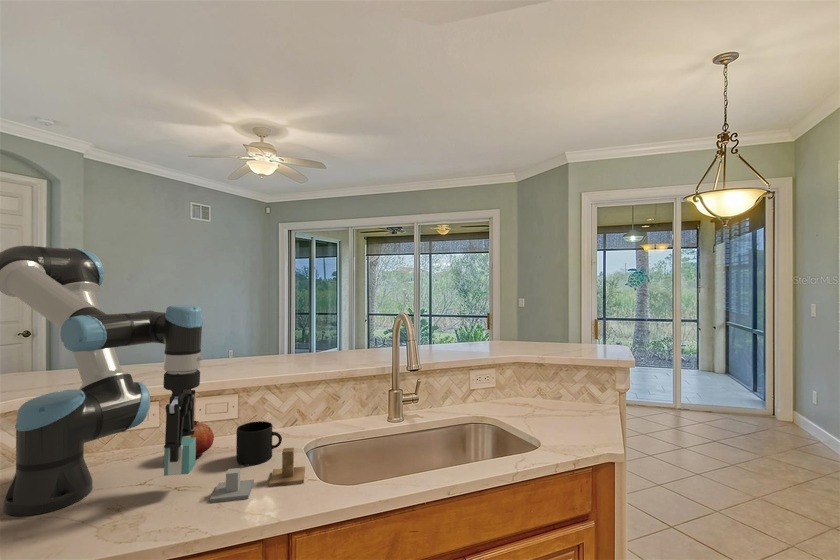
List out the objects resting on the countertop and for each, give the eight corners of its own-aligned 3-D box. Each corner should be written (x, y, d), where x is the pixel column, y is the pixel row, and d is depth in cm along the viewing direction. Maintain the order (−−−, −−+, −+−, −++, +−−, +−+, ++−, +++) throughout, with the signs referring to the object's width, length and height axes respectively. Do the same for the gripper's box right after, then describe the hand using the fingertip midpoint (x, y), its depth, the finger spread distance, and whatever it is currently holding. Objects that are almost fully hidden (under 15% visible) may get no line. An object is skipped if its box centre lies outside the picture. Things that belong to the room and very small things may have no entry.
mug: (280, 462, 115) (280, 429, 116) (233, 467, 112) (233, 433, 113) (282, 449, 125) (283, 419, 125) (239, 453, 122) (239, 422, 122)
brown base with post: (269, 486, 102) (269, 457, 102) (273, 472, 110) (273, 445, 110) (303, 483, 103) (303, 454, 104) (305, 469, 111) (305, 442, 111)
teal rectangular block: (163, 475, 96) (164, 447, 96) (171, 465, 102) (172, 438, 102) (188, 473, 98) (189, 445, 98) (195, 464, 103) (195, 437, 103)
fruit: (215, 447, 126) (216, 414, 126) (210, 460, 117) (211, 424, 117) (175, 452, 123) (176, 417, 123) (167, 466, 113) (167, 428, 113)
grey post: (210, 502, 94) (210, 480, 94) (218, 486, 102) (219, 465, 102) (248, 498, 96) (248, 476, 96) (253, 482, 104) (254, 462, 104)
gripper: (187, 379, 92) (184, 485, 91) (209, 362, 109) (206, 452, 109) (149, 380, 90) (145, 488, 90) (178, 363, 108) (174, 453, 108)
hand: (179, 468), depth 100 cm, fingers closed on teal rectangular block, 5 cm apart
